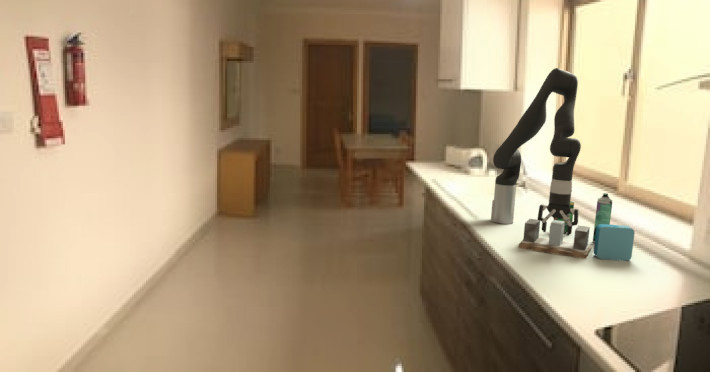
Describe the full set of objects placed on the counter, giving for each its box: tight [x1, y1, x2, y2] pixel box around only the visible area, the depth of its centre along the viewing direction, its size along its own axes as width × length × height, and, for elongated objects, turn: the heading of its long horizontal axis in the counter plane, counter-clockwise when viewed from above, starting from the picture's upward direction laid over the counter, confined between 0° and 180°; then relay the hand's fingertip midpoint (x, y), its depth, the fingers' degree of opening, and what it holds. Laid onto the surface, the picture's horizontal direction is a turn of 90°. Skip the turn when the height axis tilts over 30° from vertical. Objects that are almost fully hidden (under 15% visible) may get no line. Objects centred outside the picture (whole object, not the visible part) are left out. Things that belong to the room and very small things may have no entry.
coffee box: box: [553, 200, 575, 233], centre depth 246 cm, size 8×3×13 cm, turn 107°
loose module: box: [548, 219, 565, 246], centre depth 219 cm, size 4×7×8 cm, turn 152°
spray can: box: [592, 192, 613, 244], centre depth 231 cm, size 6×6×20 cm
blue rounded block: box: [593, 224, 636, 262], centre depth 210 cm, size 12×4×12 cm, turn 83°
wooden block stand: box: [518, 218, 592, 260], centre depth 220 cm, size 24×14×9 cm, turn 62°
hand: (556, 233), depth 219 cm, fingers open, 8 cm apart
